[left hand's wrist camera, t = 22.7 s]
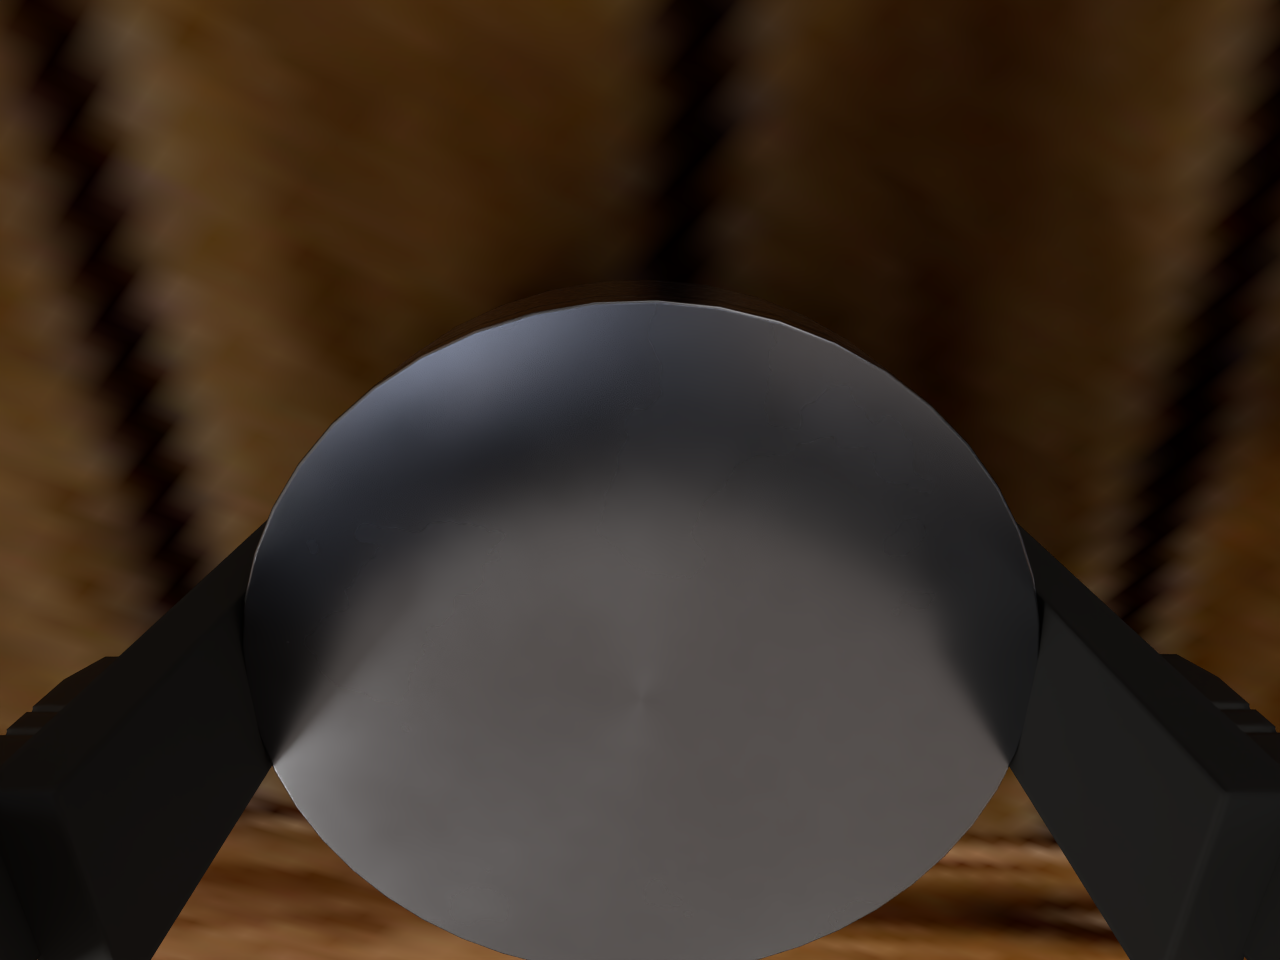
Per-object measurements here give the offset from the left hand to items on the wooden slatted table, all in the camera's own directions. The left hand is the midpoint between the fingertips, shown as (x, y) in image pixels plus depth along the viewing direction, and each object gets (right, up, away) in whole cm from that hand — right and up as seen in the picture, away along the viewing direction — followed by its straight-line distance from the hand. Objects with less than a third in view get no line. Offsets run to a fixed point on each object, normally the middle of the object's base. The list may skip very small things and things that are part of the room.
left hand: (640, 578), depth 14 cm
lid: (0, -1, -3) cm, 3 cm away
